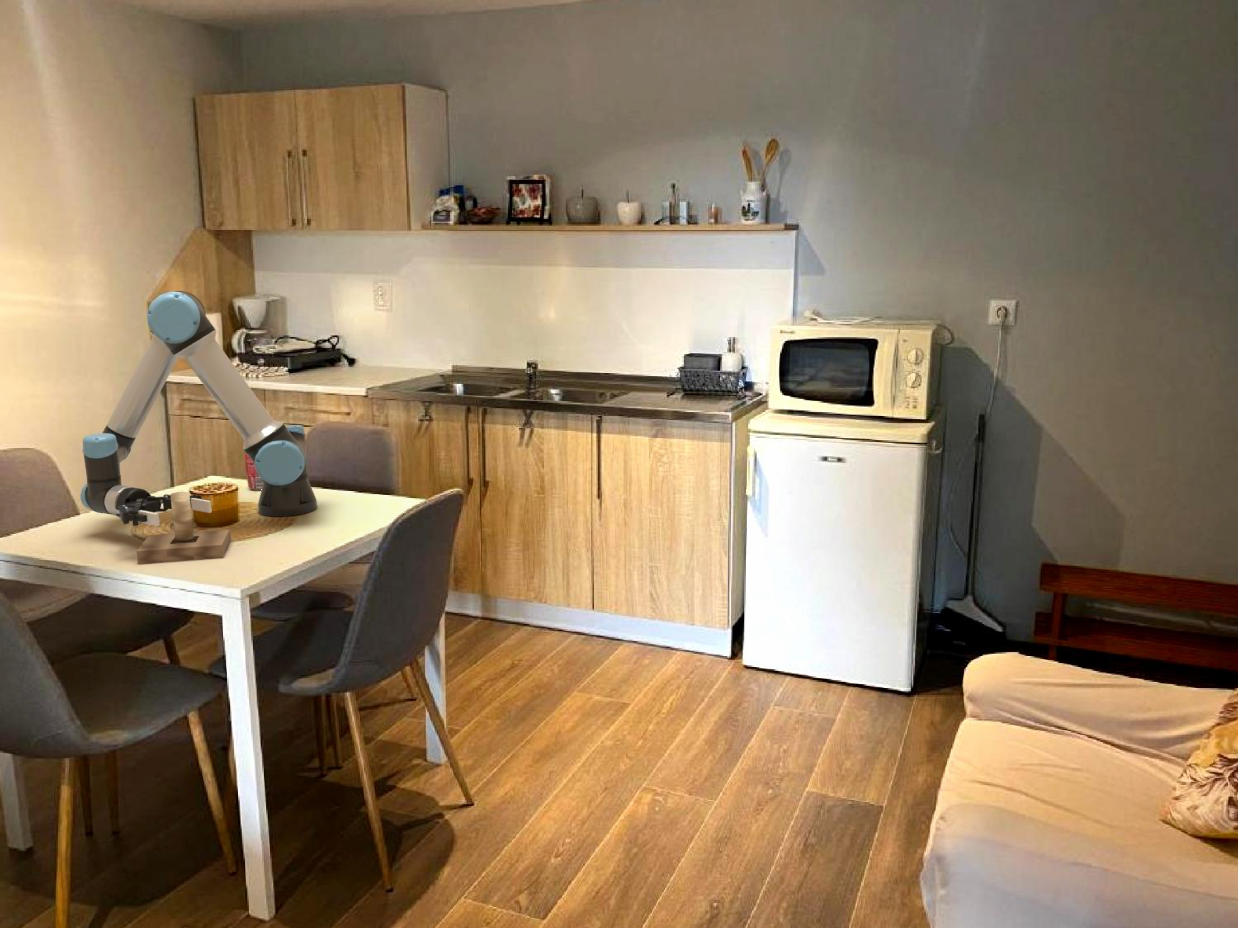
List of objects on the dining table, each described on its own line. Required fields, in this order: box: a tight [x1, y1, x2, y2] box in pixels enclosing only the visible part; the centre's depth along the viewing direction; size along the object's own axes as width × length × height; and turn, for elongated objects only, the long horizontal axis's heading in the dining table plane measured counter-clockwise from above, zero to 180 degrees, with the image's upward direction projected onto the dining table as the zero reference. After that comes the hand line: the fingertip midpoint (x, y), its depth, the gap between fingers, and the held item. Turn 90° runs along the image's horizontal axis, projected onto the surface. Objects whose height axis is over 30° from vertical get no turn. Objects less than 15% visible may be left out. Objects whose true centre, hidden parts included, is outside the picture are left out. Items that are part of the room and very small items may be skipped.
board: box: [136, 529, 232, 565], centre depth 240 cm, size 18×14×3 cm
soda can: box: [244, 452, 263, 491], centre depth 304 cm, size 7×7×12 cm
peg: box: [169, 491, 194, 544], centre depth 239 cm, size 4×4×14 cm
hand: (184, 513), depth 238 cm, fingers open, 13 cm apart
